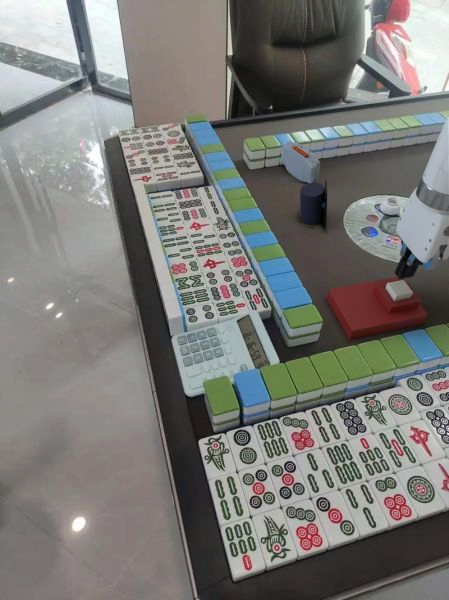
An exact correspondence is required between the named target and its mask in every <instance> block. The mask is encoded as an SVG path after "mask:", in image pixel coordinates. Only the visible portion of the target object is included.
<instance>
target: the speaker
mask: <svg viewBox="0 0 449 600" xmlns="http://www.w3.org/2000/svg"><path fill="white" fill-rule="evenodd" d="M299 199H300V200H299V201H300V203H299V205H300V220H301V221H302V222H303V223H304V224H310V225H315V224H319V223H320V222H322V221H323V229H324V230H327V217H328V216H327V215H328V214H327V213H328V181H327V180H324V185H323V184H321V183H318V182H313V183H308V182H307V183H306V184H304V185H302V186H301V188H300V189H299Z"/></svg>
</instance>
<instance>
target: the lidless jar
mask: <svg viewBox="0 0 449 600" xmlns="http://www.w3.org/2000/svg"><path fill="white" fill-rule="evenodd" d="M379 210H380V211H381V212H382V213H383V214H385V215H389V216H396V215H398V214H400V212H401V205H400V201H399V199H398V198H397V197H393V196H390V197H387V198H386V199H385V200H384V201H382V202H381V203H380V205H379Z"/></svg>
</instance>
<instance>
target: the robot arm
mask: <svg viewBox="0 0 449 600" xmlns="http://www.w3.org/2000/svg"><path fill="white" fill-rule="evenodd" d="M395 231H396V233H397V236H398V237H399V240H400V244H401V248H400V251H399V256H400V259H399V261H398V263H397V266H396V268H395V270H394V274H395V276H396V277H398V279H403V278H404V279H409V278H412V277H414V276H415V274H416V272H417V270H418V268H419V266H421V267H422V268H423V269H424V270H426V271H427V272H431V271H435V270H436V269H437V265H438V262H439V259H440V260H441V261H446V260H447V259H448V258H449V115H448V116H447V118H446V119H445V122H444V123H443V126H442V128H441V131H440V133H439V136H438V138H437V141H436V143H435V145H434V147H433V150H432V152H431V154H430V157H429V160H428V162H427V164H426V166H425V169H424V172H423V174H422V176H421V179H420V180H419V183H418V185H417V187H415V188H414V190H413V192H412V193H411V195H410V196H409V198H408V199H407V201H406V203H405V204H404V206H403V209H402V211H401V213H400V216H399V217H398V220H397V223H396V226H395Z"/></svg>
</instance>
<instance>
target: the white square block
mask: <svg viewBox="0 0 449 600" xmlns="http://www.w3.org/2000/svg"><path fill="white" fill-rule="evenodd" d="M385 290H386V291H387V293H388V294H389V295H390V297H391V298H392V300H393V301H394V302H395V301H400V300H405V299H410V298H411V296H412V294H413V292H412V290H411V289H410V288H409V286H408V285H407V284H406V282H405V281H404V280H400V281H395V282H390V283H387V285H386V288H385Z"/></svg>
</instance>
